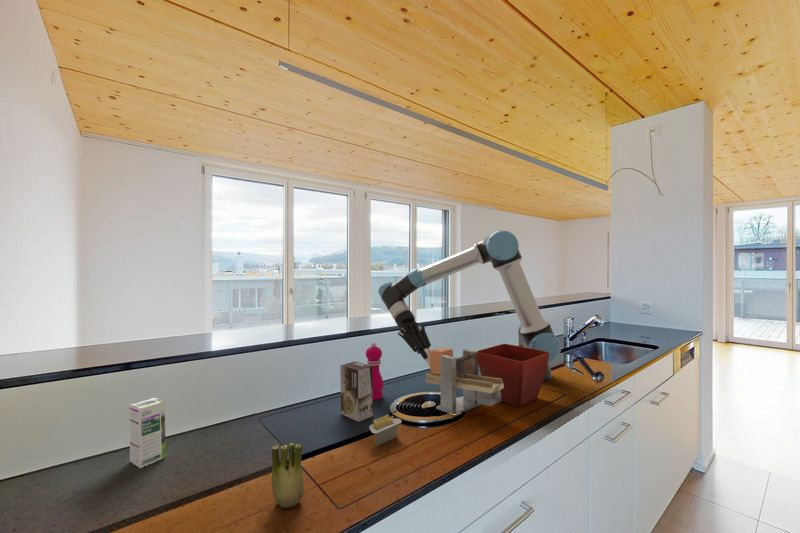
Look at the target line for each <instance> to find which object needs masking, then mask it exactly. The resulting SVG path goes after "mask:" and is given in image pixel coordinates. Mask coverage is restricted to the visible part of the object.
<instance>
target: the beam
mask: <svg viewBox="0 0 800 533" xmlns="http://www.w3.org/2000/svg"><path fill="white" fill-rule="evenodd" d="M455 358H456V389H462V390H463V389H468V390H474V391H476V395H477V403H478V404H482V405H484V406H490V407H491V406H493V405H496V404H498V403H500V402H503V401H502V400H501V389H503V388H504V384H503V379H501V378H494V377H486V376H481V375H479V374H478V375H471V374H465V364H464V360H467V359H470V356H469V355H466V356H463V355H462V356H460V357H455ZM424 376H425V377H424V382H425V383H428V384H434V385H440V386H441V381H440V375H437V374H432V373H431V372H430V373H429V372H426V373H424Z"/></svg>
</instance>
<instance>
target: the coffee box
mask: <svg viewBox="0 0 800 533" xmlns="http://www.w3.org/2000/svg"><path fill="white" fill-rule="evenodd" d="M372 367H373V366H371V365H368V364H367V363H363V362H359V361H351V362H348V363H345V364H342V365H341V364H340V366H339V369H340V411H341V412H340V414H341V416H344V417H347V418H349V419H351V420H354V421H356V422H362V421H364V420H367V419H369V418H372V417H373V416H374V412H373V411H374V410H373V408H374V406H373V405H374V404H373V402H374V400H373V382H372Z"/></svg>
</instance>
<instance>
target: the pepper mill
mask: <svg viewBox="0 0 800 533" xmlns="http://www.w3.org/2000/svg"><path fill="white" fill-rule="evenodd" d="M365 356H366V359H367V360H366V364H367V365H371V366H373V367H372V382H373V401H374V400H375V401H377V400H380V399H382V398H383V395H384V394H383V393H384V392H383V391H382V390H383V389H384V387H385V384H384V383H385V382H384V379H383V376H382V374H381V372H380V365H381V362H382V361H381V358H382V356H383V351H382V349H381V348H380V347H379V346H377V343H376V342H375V341H374V342H372V343H371V345H370V346H369V347H368V348H367V349H366V351H365Z"/></svg>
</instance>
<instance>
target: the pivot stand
mask: <svg viewBox="0 0 800 533" xmlns="http://www.w3.org/2000/svg"><path fill="white" fill-rule="evenodd" d="M478 351H479V350H472V349H468V348H466V349H463V350H462V357H463V356H466V355H469V356H470V359H467V360H464V364H465V374H471V375H479V365H478ZM456 358H457V357H454V356H453V357H451V356H447V355H442V356H440V381H441V385H440V404H439V405H437V406H436V410H438V409H439V410H438V411H440V410H441V411H440V412H443V411H444V412H443V413H445V412H447V413H446V414H448V413H451V414H457V413H460V412H464V413H466V412H468V411H470V410H472V409H475V408H476V407H479V406H482V405H483V404H478V403H477V395H476V391H474V390H468V389H462V396H459V397H457V388H456Z"/></svg>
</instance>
